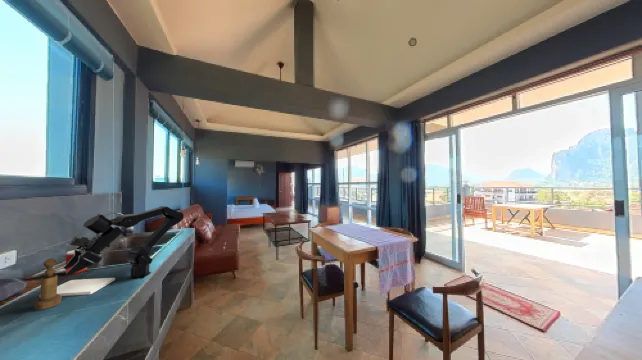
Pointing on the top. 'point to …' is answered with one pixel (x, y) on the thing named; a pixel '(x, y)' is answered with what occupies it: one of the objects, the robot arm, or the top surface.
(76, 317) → the top surface
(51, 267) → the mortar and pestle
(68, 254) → the canned food
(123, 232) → the robot arm
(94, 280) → the tile
